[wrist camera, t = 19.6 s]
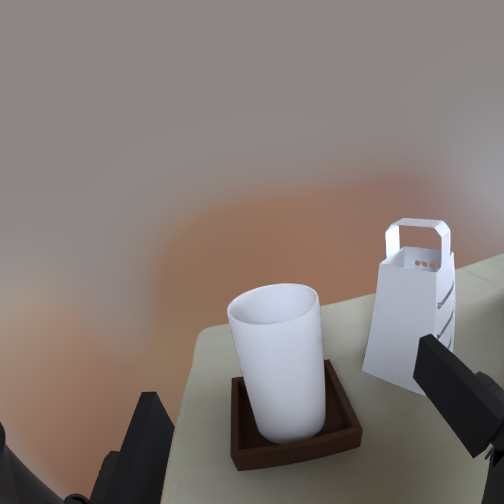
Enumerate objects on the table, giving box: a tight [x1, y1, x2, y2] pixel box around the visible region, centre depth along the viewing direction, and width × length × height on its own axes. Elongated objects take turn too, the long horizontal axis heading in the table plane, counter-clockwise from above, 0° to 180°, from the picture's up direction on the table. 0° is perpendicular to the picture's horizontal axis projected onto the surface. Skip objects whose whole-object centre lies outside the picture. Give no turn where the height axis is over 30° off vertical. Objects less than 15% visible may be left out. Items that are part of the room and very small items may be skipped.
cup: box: [227, 283, 326, 444], centre depth 26 cm, size 8×8×16 cm
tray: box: [231, 359, 362, 471], centre depth 28 cm, size 13×13×3 cm
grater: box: [362, 218, 455, 396], centre depth 30 cm, size 10×10×20 cm
